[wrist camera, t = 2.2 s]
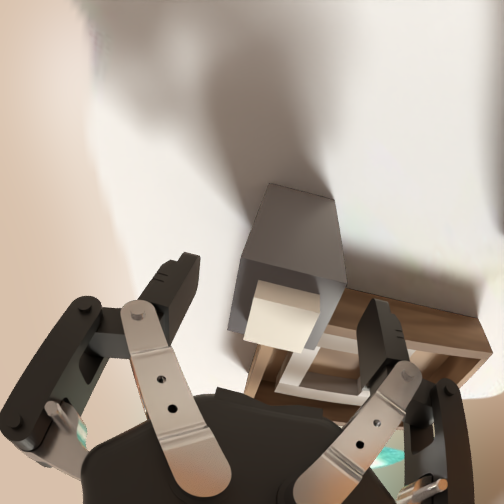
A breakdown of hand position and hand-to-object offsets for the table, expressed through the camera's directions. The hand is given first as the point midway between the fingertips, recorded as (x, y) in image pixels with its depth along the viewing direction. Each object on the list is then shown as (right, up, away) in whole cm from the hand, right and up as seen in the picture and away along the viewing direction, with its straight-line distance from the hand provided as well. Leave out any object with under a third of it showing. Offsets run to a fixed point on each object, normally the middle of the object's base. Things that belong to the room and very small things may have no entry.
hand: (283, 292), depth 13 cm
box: (+8, -7, +10) cm, 15 cm away
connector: (+1, +4, +5) cm, 6 cm away
